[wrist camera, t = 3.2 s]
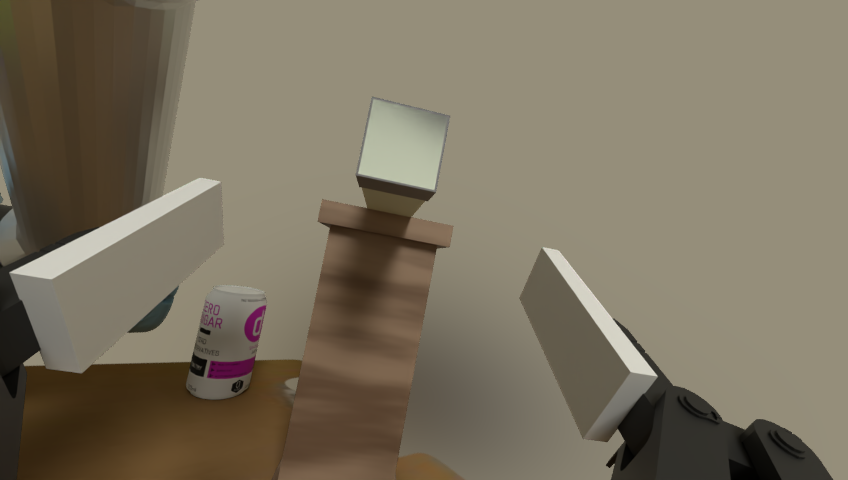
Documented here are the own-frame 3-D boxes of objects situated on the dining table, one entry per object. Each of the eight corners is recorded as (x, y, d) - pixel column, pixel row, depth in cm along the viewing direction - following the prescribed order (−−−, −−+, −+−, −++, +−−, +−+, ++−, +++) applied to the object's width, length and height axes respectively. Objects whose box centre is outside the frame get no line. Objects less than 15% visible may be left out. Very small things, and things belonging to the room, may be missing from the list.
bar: (435, 192, 17) (450, 115, 18) (355, 175, 17) (371, 96, 17) (400, 231, 47) (406, 202, 47) (371, 225, 47) (376, 196, 47)
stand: (395, 541, 29) (453, 225, 31) (252, 529, 28) (322, 199, 29) (389, 424, 49) (424, 236, 51) (305, 414, 47) (345, 221, 49)
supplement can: (258, 384, 54) (277, 292, 55) (228, 406, 46) (252, 297, 47) (208, 374, 54) (229, 283, 55) (170, 395, 46) (195, 286, 47)
